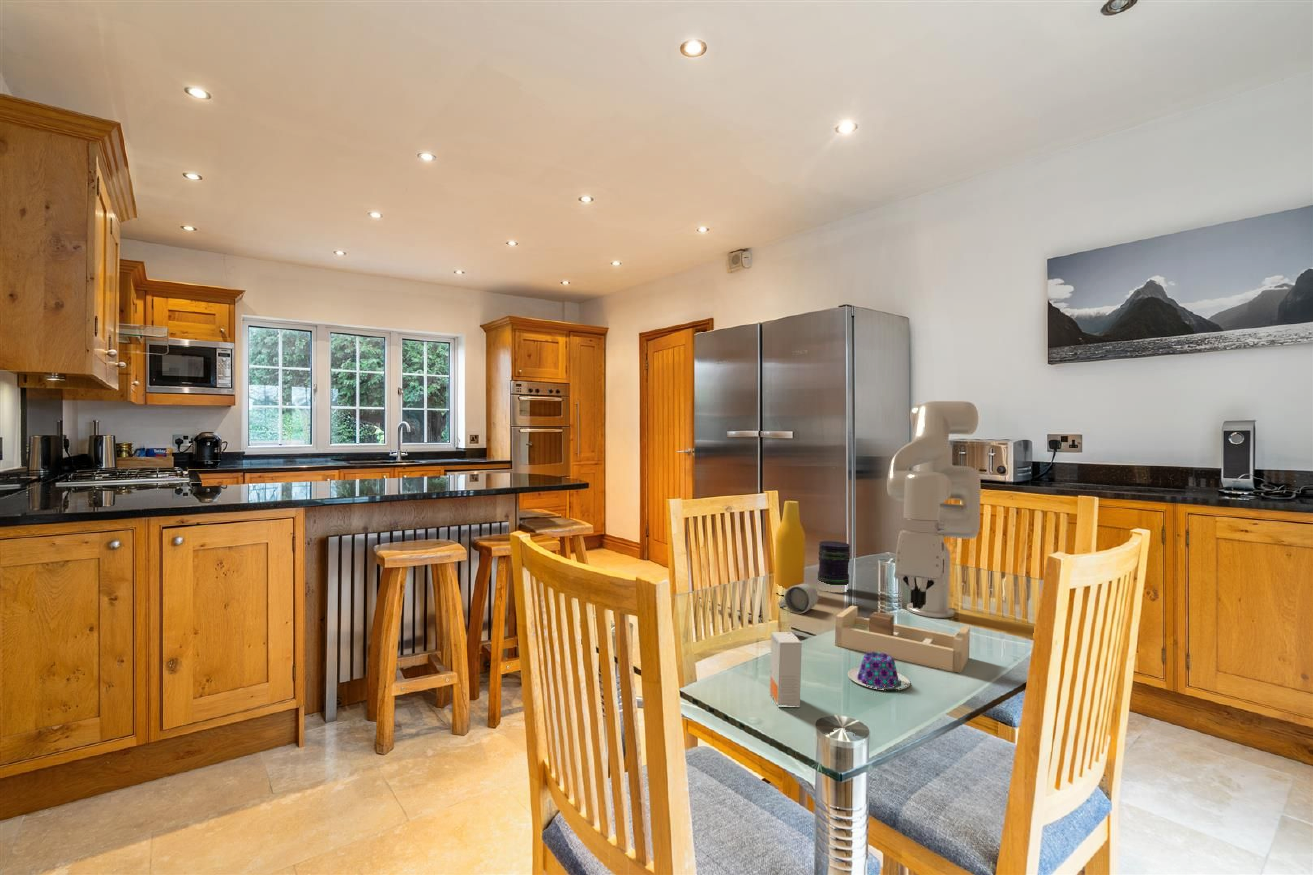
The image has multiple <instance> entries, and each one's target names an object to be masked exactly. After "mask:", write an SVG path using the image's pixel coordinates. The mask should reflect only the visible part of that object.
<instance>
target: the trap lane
mask: <svg viewBox="0 0 1313 875" xmlns="http://www.w3.org/2000/svg"><path fill="white" fill-rule="evenodd" d="M858 610H859V609H858V606H856V605H850V606H849V607H847V608H846V609H844V610H843V611H841V612H840V613H838V614H837V615H836V616H835V629H834V630H835V631H834V632H835V633H834V634H835V638H834V646H836V647H840V648H845V649H849V650H853V651H858V652H863V653H865V654H866V653H868V652H878V653H885V654H886V655H890V656H891V657H892V658H893V659H894V660H897V661H898V660H899V661H902V662H907V663H911V664H917V665H919V666H920V665H921V666H925V667H931V668H934V669H938V668H939V669H938V670H943V671H947V672H953V673H956V672H958V673H957V674H961V673H962V671H963V670H964V668H965V665H967V663H968V660H969V658H970V643H971V642H970V637H971V636H970V635H971V634H970V633H971V627H970V626H967V625H962V626H961V628H960V629H959V630H958V631H957V634H956V635H955V634H950V633H945V632H939V631H935V630H930V629H924V628H920V627H919V628H918V627H914V626H909V625H904V624H899V623H894V634H893V635H892V636H889V635H884V634H879V633H874V632H869V617H868V618H867V617H862V616H858Z"/></svg>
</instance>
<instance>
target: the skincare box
mask: <svg viewBox="0 0 1313 875" xmlns="http://www.w3.org/2000/svg"><path fill="white" fill-rule="evenodd" d="M770 637H771V639H770V666H769V667H770V670H769V695H770V694H771V695H772V696H771V695H770V696H771V698H772V697H773V698H774V699H775V701H776V702H777V703H778V705H787V706H800V707H801V682H802V680H801V679H802V678H801V677H802V646H803V645H802V644H803V643H802V642H801V640H800V639H799V638H798V637H797V636H796V635H795V634H794V633H793V632H791V631H789V632H788V631H785V632H784V631H772V632H771V636H770ZM773 698H772V699H773ZM775 701H774V702H775Z"/></svg>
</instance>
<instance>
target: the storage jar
mask: <svg viewBox="0 0 1313 875" xmlns="http://www.w3.org/2000/svg"><path fill="white" fill-rule="evenodd" d="M818 546H819V547H818V560H819V561H818V562H819V563H818V565H819V566H818V571H817V581H818V580H819V581H821V582H824V583H826V584H830V585H847V584H848V585H849V584H850V574H849V563H850V557H851V553H850V548H851V547H850V546H851V544H849V543H846V542H841V541H833V540H831V541H830V540H829V541H826V540H825V541H820V542H819V543H818Z"/></svg>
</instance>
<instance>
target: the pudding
mask: <svg viewBox="0 0 1313 875" xmlns="http://www.w3.org/2000/svg"><path fill="white" fill-rule="evenodd" d="M847 677H848V679H850V680H852V681H853V682H855V683H856V684H858V685H861V686H864V687H867V688H870V689H874V690H875V689H876V690H878V689H877V687H884V686H885V687H893V686H895V685H898V684H899V685H900V682H899V680H898V678H899V679H900V680H901V681H904V683H905V684H904V685H907V686H905V687H904V688H901V689H898V690H897V691H900V690H904V689H907V688H909V686H910V685H911V684H910V680H909V679H908V678H907V677H906V676H904V675H903V674H901V673H898V670H897V666H896V661H895V659H893V658H892V657H891V656H890V655H886V654H885V653H878V652H868V653H866V652H865V654H864V655H863V657H862V659H861V663H860V666H859V667H854V668H851V669H849V670H848V672H847ZM859 681H860V682H859ZM866 685H868V686H871V687H868V686H866ZM872 685H874V686H877V687H875V688H872V687H874V686H872ZM895 687H896V686H895ZM884 689H885V688H882V689H879V690H882V691H885V690H884Z"/></svg>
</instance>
